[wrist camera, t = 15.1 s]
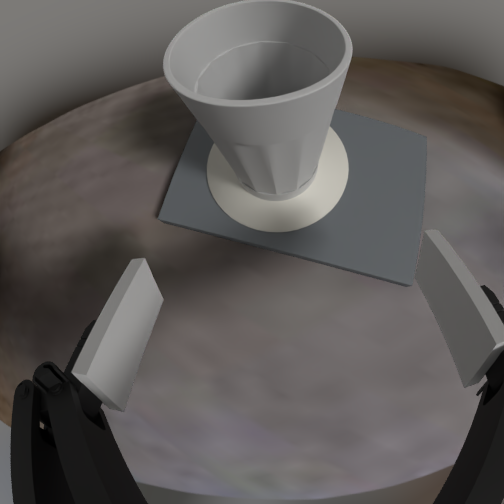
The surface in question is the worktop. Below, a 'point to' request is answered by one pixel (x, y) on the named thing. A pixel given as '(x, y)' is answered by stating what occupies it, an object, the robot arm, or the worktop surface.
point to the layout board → (317, 200)
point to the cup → (263, 87)
